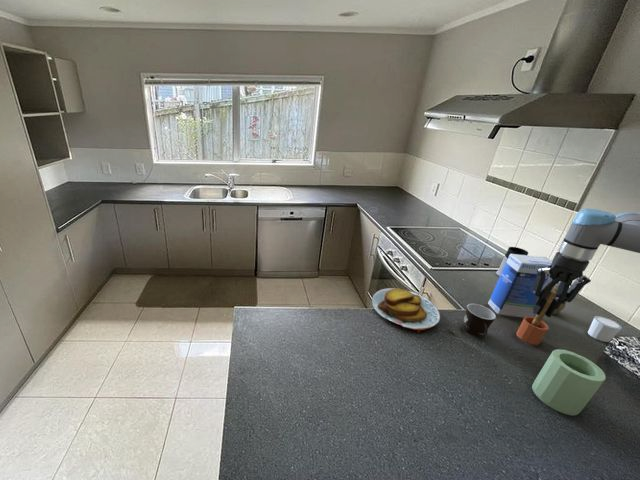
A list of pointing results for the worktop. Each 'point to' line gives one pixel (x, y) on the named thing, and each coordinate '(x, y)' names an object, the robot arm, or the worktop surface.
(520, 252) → the holder
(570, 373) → the sage green cup
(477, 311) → the coffee mug
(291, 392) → the worktop surface
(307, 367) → the worktop surface
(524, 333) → the brush cup
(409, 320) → the food on plate
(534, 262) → the string lights box
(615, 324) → the white cylinder
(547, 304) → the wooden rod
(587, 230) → the robot arm
